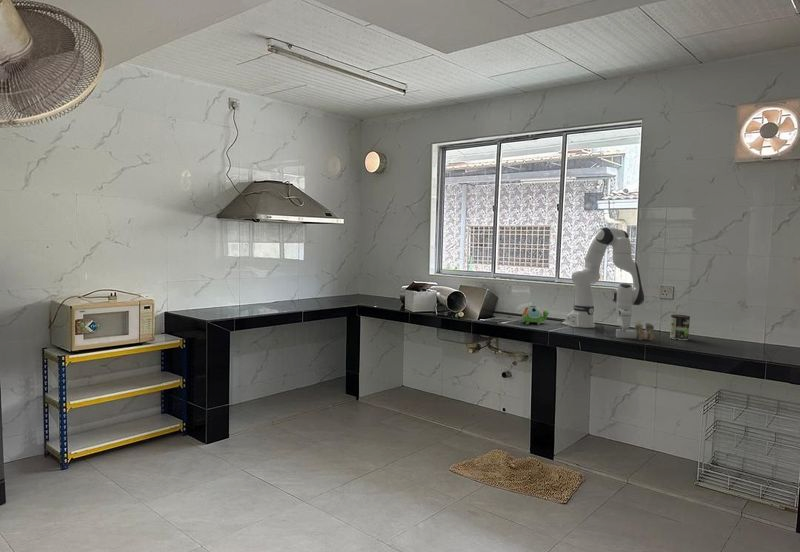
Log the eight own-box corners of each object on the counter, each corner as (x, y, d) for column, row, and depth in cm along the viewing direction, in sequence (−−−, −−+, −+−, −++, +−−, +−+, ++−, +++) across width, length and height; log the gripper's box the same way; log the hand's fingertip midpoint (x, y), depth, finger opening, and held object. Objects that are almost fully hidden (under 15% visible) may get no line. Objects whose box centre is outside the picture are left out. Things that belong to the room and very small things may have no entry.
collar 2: (649, 340, 328) (650, 326, 328) (645, 337, 339) (645, 323, 338) (653, 340, 328) (653, 326, 327) (648, 337, 339) (649, 323, 338)
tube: (616, 337, 335) (617, 330, 334) (615, 336, 339) (615, 328, 339) (648, 339, 331) (649, 331, 331) (646, 338, 336) (647, 330, 335)
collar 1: (638, 339, 329) (639, 325, 329) (634, 336, 340) (635, 322, 339) (642, 339, 329) (643, 325, 328) (638, 336, 340) (638, 322, 339)
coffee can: (692, 339, 334) (693, 316, 333) (682, 340, 329) (684, 317, 328) (675, 336, 343) (677, 313, 342) (666, 338, 337) (667, 315, 336)
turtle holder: (551, 325, 377) (551, 307, 376) (524, 324, 376) (525, 307, 375) (545, 322, 389) (546, 305, 388) (520, 321, 388) (520, 304, 387)
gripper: (615, 308, 346) (614, 330, 347) (621, 312, 326) (620, 336, 327) (626, 308, 344) (624, 330, 345) (632, 313, 324) (631, 336, 326)
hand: (622, 333), depth 336 cm, fingers closed on tube, 4 cm apart
